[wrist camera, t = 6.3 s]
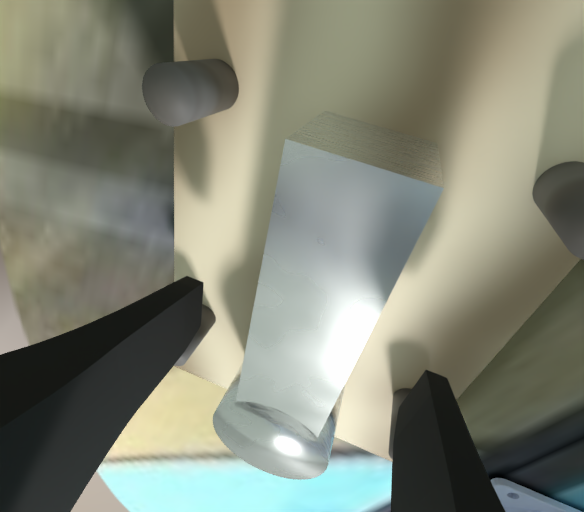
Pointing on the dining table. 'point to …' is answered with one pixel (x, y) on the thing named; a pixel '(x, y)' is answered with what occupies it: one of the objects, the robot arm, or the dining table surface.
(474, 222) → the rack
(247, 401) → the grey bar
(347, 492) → the dining table surface
